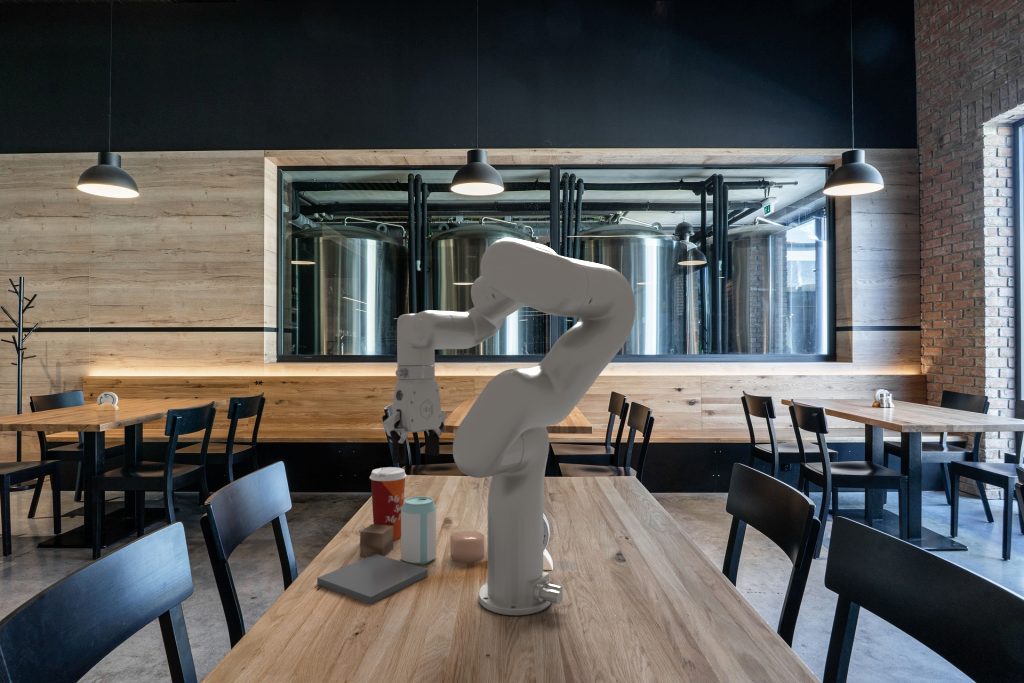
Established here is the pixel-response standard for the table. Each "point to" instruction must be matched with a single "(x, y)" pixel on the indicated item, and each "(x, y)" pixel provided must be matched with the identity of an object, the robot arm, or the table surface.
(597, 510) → the table surface
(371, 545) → the walnut block
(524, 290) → the robot arm
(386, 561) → the slate board
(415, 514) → the can
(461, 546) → the peach smooth rounded part
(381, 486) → the coffee cup
